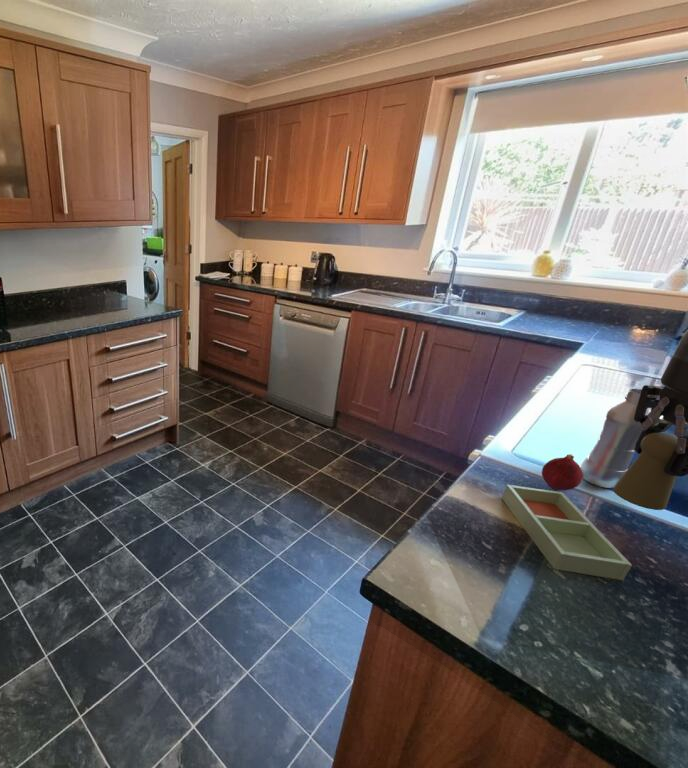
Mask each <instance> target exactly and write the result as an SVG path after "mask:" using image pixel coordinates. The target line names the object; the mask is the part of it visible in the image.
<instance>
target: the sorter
mask: <svg viewBox="0 0 688 768" xmlns="http://www.w3.org/2000/svg"><path fill="white" fill-rule="evenodd" d="M501 499H502V501H503V502H504V504H505V505H506V506H507V508H508V509H509V510H510V512H511V513H512V514H513V516H514V517H515V518H516V520H517V521H518V522H519V524H520V526H522V528H523V529H524V531H525V532H526V533H527V535H529V537H530V539H531V540H532V541H533V543H534V545H536V547H537V548H538V550H539V551H540V552H541V554H542V555H543V557H544V558H545V559H546V560H547V562H548V563H549V564H550V566H551V567H552V568H553V569H554V570H558V571H563V572H564V571H565V572H570V573H577V574H582V575H587V576H588V575H589V576H593V577H598V578H599V577H601V578H606V579H611V580H617V581H624V579H625V578H626V577H627V574H628V573H629V571H630V570H631V568H632V566H633V565H632V563H631V562H630V560H628V559H627V558H626V557H625V556H624V555H623V554H622V553H621V551H619V550H618V549H617V548H616V546H614V544H613V543H612V542H610V540H609V539H608V538H607V537H606V536H605V535H604V534H603V532H601V531H600V530H599V529H598V528H597V526H596V525H594V524H593V523H592V521H591V520H589V519H588V517H587V516H586V515H585V514H584V513H583V512H582V511H581V510H580V509H579V508H578V507H577V506H576V505H575V504H574V503H573V501H572V500H570V499H569V497H568V496H566V494H565V493H563V491H556V490H550V489H549V490H548V489H543V488H542V489H541V488H535V487H534V488H533V487H528V486H527V487H526V486H520V485H512V484H506V486H505V488H504V491H503V493H502V495H501Z"/></svg>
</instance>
